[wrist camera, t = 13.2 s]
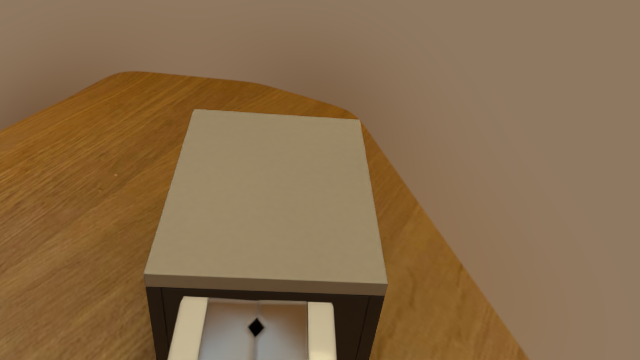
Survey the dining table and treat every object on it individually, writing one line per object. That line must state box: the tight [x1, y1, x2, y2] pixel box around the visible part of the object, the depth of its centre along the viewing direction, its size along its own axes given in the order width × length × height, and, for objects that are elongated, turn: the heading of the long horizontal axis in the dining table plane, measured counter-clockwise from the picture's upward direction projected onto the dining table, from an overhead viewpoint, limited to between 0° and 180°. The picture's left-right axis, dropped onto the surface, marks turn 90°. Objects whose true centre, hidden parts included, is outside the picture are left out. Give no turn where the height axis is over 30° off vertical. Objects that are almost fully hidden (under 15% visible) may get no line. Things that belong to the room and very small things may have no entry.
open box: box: [146, 287, 385, 360], centre depth 37 cm, size 16×13×9 cm
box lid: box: [144, 109, 388, 296], centre depth 35 cm, size 17×13×1 cm
